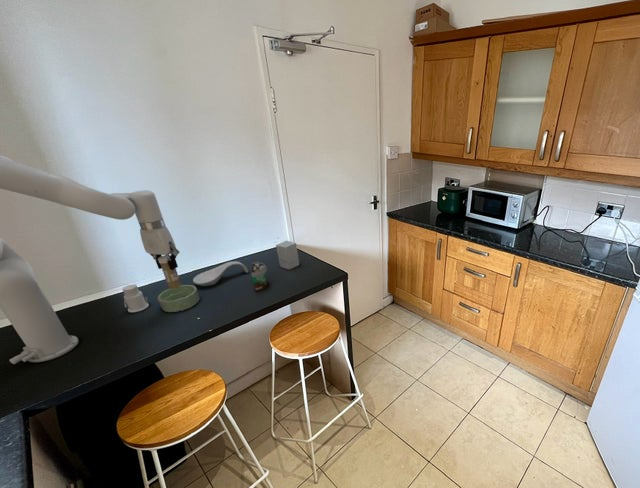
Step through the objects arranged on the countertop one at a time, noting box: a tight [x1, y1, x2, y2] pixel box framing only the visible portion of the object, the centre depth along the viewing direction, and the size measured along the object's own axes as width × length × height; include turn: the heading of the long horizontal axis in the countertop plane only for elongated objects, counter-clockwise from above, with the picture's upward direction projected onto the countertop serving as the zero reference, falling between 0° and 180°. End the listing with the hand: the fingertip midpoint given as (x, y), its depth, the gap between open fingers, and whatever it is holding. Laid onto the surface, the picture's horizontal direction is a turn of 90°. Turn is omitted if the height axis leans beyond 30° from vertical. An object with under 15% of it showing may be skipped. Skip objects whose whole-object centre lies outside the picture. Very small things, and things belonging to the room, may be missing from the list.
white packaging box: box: [275, 240, 300, 270], centre depth 164 cm, size 7×7×13 cm
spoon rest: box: [192, 261, 249, 287], centre depth 151 cm, size 24×12×7 cm, turn 135°
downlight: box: [122, 284, 150, 313], centre depth 128 cm, size 8×7×10 cm
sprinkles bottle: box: [158, 254, 183, 289], centre depth 126 cm, size 5×5×13 cm
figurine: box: [250, 261, 268, 292], centre depth 145 cm, size 12×6×10 cm, turn 22°
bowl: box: [157, 284, 201, 313], centre depth 132 cm, size 14×14×6 cm
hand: (168, 267), depth 125 cm, fingers closed on sprinkles bottle, 4 cm apart
